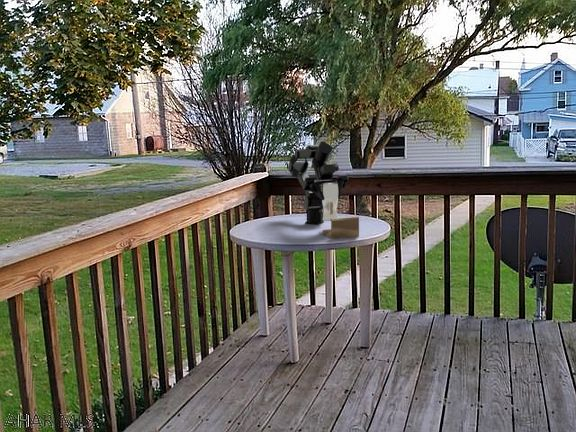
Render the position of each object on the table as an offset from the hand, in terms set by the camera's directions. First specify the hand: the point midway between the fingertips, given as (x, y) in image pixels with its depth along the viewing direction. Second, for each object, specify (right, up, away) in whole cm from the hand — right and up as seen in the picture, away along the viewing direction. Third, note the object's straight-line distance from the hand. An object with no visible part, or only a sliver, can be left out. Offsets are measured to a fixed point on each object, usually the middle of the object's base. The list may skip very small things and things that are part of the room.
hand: (331, 199), depth 226 cm
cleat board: (+3, -14, -5) cm, 15 cm away
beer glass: (0, -9, +3) cm, 9 cm away
